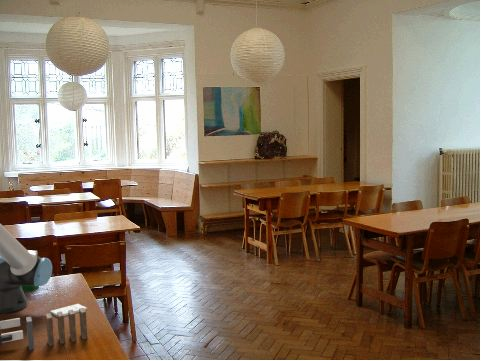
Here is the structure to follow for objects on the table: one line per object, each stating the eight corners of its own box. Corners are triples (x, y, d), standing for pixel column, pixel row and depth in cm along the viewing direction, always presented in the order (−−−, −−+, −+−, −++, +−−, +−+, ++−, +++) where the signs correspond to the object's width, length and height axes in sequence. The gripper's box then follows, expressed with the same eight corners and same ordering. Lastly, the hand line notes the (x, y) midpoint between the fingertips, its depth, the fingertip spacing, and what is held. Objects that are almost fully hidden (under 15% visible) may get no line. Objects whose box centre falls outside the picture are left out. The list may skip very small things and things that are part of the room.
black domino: (29, 350, 181) (27, 321, 180) (28, 345, 185) (26, 317, 184) (34, 349, 182) (32, 321, 181) (32, 344, 186) (30, 316, 185)
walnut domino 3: (71, 341, 187) (70, 314, 186) (69, 337, 191) (68, 310, 190) (76, 340, 188) (74, 313, 187) (74, 336, 192) (72, 309, 191)
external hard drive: (49, 314, 218) (77, 306, 227) (58, 319, 212) (87, 311, 221) (49, 310, 218) (77, 303, 226) (58, 315, 212) (86, 307, 221)
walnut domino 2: (60, 344, 185) (58, 316, 184) (58, 339, 190) (57, 312, 189) (65, 343, 186) (63, 315, 185) (63, 338, 190) (61, 311, 190)
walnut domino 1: (49, 346, 184) (47, 318, 183) (47, 341, 188) (45, 314, 187) (54, 345, 184) (52, 317, 183) (52, 340, 189) (50, 313, 188)
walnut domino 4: (83, 339, 189) (81, 312, 188) (80, 335, 193) (79, 308, 192) (87, 338, 189) (85, 311, 188) (85, 334, 194) (83, 307, 193)
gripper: (-47, 338, 184) (19, 326, 193) (-50, 366, 161) (25, 351, 171) (-48, 317, 183) (18, 307, 192) (-52, 342, 161) (23, 329, 170)
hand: (21, 327), depth 181 cm, fingers open, 13 cm apart
